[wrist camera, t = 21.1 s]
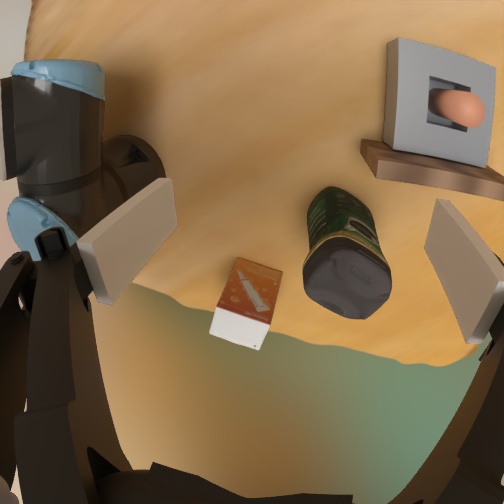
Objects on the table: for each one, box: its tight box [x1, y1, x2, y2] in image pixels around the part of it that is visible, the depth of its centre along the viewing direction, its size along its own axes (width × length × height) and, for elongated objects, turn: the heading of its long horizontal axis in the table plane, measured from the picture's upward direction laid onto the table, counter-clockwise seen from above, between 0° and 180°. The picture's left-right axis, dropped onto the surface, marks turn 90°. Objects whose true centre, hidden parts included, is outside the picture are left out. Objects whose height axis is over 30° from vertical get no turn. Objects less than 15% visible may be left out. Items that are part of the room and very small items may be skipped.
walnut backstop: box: [360, 139, 504, 201], centre depth 31 cm, size 20×2×12 cm, turn 91°
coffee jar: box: [302, 188, 392, 319], centre depth 36 cm, size 10×8×19 cm
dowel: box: [428, 88, 485, 128], centre depth 26 cm, size 4×4×10 cm
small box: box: [209, 258, 282, 350], centre depth 47 cm, size 8×6×13 cm
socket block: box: [383, 38, 496, 168], centre depth 29 cm, size 14×14×6 cm
